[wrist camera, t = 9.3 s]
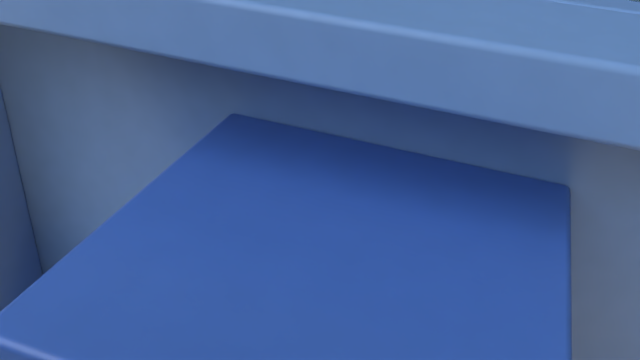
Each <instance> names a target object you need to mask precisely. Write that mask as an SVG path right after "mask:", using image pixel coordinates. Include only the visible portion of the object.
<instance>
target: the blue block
mask: <svg viewBox="0 0 640 360" xmlns="http://www.w3.org/2000/svg"><path fill="white" fill-rule="evenodd" d="M0 360H572V275H571V192H570V188H569V187H567V186H565V185H561V184H557V183H552V182H547V181H543V180H538V179H534V178H529V177H524V176H520V175H515V174H511V173H506V172H501V171H497V170H492V169H488V168H483V167H478V166H474V165H469V164H465V163H460V162H455V161H451V160H446V159H442V158H437V157H432V156H428V155H423V154H419V153H414V152H409V151H405V150H400V149H396V148H391V147H386V146H382V145H377V144H372V143H368V142H363V141H359V140H354V139H349V138H345V137H340V136H336V135H331V134H326V133H322V132H317V131H313V130H308V129H303V128H299V127H294V126H290V125H285V124H280V123H276V122H271V121H267V120H262V119H257V118H253V117H248V116H244V115H239V114H230V115H228V116H227V117H226V118H225V119H224V120H223V121H221V122H220V123H219V124H218V125H217V126H216V127H214V128H213V129H212V130H211V131H210V132H209V133H207V134H206V135H205V136H204V137H203V138H202V139H200V140H199V141H198V142H197V143H196V144H195V145H193V146H192V147H191V148H190V149H189V150H188V151H186V152H185V153H184V154H183V155H182V156H181V157H180V158H178V159H177V160H176V161H175V162H174V163H173V164H171V165H170V166H169V167H168V168H167V169H166V170H164V171H163V172H162V173H161V174H160V175H159V176H157V177H156V178H155V179H154V180H153V181H152V182H150V183H149V184H148V185H147V186H146V187H145V188H143V189H142V190H141V191H140V192H139V193H138V194H136V195H135V196H134V197H133V198H132V199H131V200H129V201H128V202H127V203H126V204H125V205H124V206H123V207H121V208H120V209H119V210H118V211H117V212H116V213H114V214H113V215H112V216H111V217H110V218H109V219H107V220H106V221H105V222H104V223H103V224H102V225H100V226H99V227H98V228H97V229H96V230H95V231H93V232H92V233H91V234H90V235H89V236H88V237H86V238H85V239H84V240H83V241H82V242H81V243H79V244H78V245H77V246H76V247H75V248H74V249H72V250H71V251H70V252H69V253H68V254H67V255H65V256H64V257H63V258H62V259H61V260H60V261H59V262H57V263H56V264H55V265H54V266H53V267H52V268H50V269H49V270H48V271H47V272H46V273H45V274H43V275H42V276H41V277H40V278H39V279H38V280H36V281H35V282H34V283H33V284H32V285H31V286H29V287H28V288H27V289H26V290H25V291H24V292H22V293H21V294H20V295H19V296H18V297H17V298H15V299H14V300H13V301H12V302H11V303H10V304H8V305H7V306H6V307H5V308H4V309H3V310H1V311H0Z"/></svg>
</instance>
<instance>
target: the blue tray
mask: <svg viewBox="0 0 640 360" xmlns="http://www.w3.org/2000/svg"><path fill="white" fill-rule="evenodd" d="M230 114H239V115H244V116H248V117H253V118H257V119H262V120H267V121H271V122H276V123H280V124H285V125H290V126H294V127H299V128H303V129H308V130H313V131H317V132H322V133H326V134H331V135H336V136H340V137H345V138H349V139H354V140H359V141H363V142H368V143H372V144H377V145H382V146H386V147H391V148H396V149H400V150H405V151H409V152H414V153H419V154H423V155H428V156H432V157H437V158H442V159H446V160H451V161H455V162H460V163H465V164H469V165H474V166H478V167H483V168H488V169H492V170H497V171H501V172H506V173H511V174H515V175H520V176H524V177H529V178H534V179H538V180H543V181H547V182H552V183H557V184H561V185H565V186H567V187H569V188H570V192H571V275H572V360H640V2H636V1H629V0H0V311H1V310H3V309H4V308H5V307H6V306H7V305H8V304H10V303H11V302H12V301H13V300H14V299H15V298H17V297H18V296H19V295H20V294H21V293H22V292H24V291H25V290H26V289H27V288H28V287H29V286H31V285H32V284H33V283H34V282H35V281H36V280H38V279H39V278H40V277H41V276H42V275H43V274H45V273H46V272H47V271H48V270H49V269H50V268H52V267H53V266H54V265H55V264H56V263H57V262H59V261H60V260H61V259H62V258H63V257H64V256H65V255H67V254H68V253H69V252H70V251H71V250H72V249H74V248H75V247H76V246H77V245H78V244H79V243H81V242H82V241H83V240H84V239H85V238H86V237H88V236H89V235H90V234H91V233H92V232H93V231H95V230H96V229H97V228H98V227H99V226H100V225H102V224H103V223H104V222H105V221H106V220H107V219H109V218H110V217H111V216H112V215H113V214H114V213H116V212H117V211H118V210H119V209H120V208H121V207H123V206H124V205H125V204H126V203H127V202H128V201H129V200H131V199H132V198H133V197H134V196H135V195H136V194H138V193H139V192H140V191H141V190H142V189H143V188H145V187H146V186H147V185H148V184H149V183H150V182H152V181H153V180H154V179H155V178H156V177H157V176H159V175H160V174H161V173H162V172H163V171H164V170H166V169H167V168H168V167H169V166H170V165H171V164H173V163H174V162H175V161H176V160H177V159H178V158H180V157H181V156H182V155H183V154H184V153H185V152H186V151H188V150H189V149H190V148H191V147H192V146H193V145H195V144H196V143H197V142H198V141H199V140H200V139H202V138H203V137H204V136H205V135H206V134H207V133H209V132H210V131H211V130H212V129H213V128H214V127H216V126H217V125H218V124H219V123H220V122H221V121H223V120H224V119H225V118H226V117H227V116H228V115H230Z"/></svg>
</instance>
